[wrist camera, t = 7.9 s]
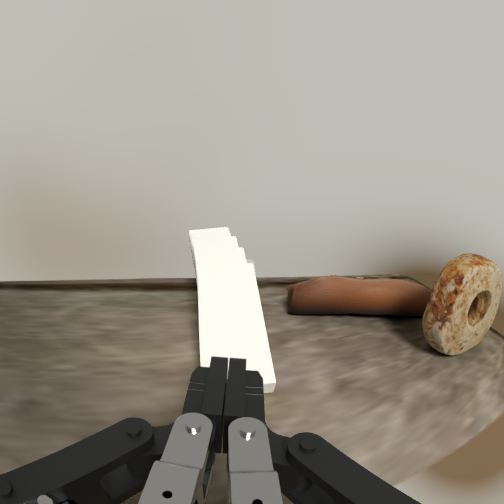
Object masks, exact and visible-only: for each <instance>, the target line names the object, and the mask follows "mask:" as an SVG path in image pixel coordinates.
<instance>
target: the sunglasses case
mask: <svg viewBox="0 0 504 504" xmlns="http://www.w3.org/2000/svg"><path fill="white" fill-rule="evenodd" d="M286 289H287V291H288V297H289V310H290V311H289V314H291V313H294V314H331V313H335V314H344V313H355V314H368V315H385V314H388V315H395V316H423V315H424V312H425V310H426V307H427V303H428V302H429V301H430V294H431V292H432V290H431V289H429V288H427V287H424V286H421V285H419V284H416V283H412V282H408V281H403V280H396V279H364V278H363V277H356V278H355V279H353V278H347V277H341V276H324V277H318V278H315V279H311V280H308V281H304V282H299V283H296V284H292V285H289V286H288V287H287V288H286Z"/></svg>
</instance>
